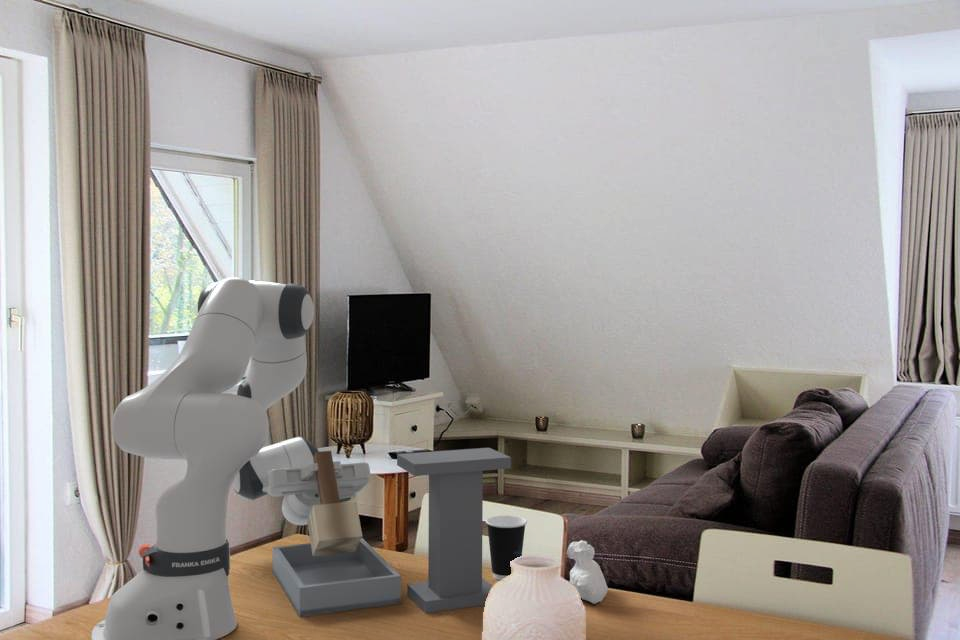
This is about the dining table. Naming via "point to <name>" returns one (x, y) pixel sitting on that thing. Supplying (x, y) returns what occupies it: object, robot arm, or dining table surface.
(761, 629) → the dining table surface
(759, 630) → the dining table surface
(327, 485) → the mallet
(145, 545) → the robot arm
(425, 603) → the stand
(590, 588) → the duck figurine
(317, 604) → the tray
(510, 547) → the dixie cup
